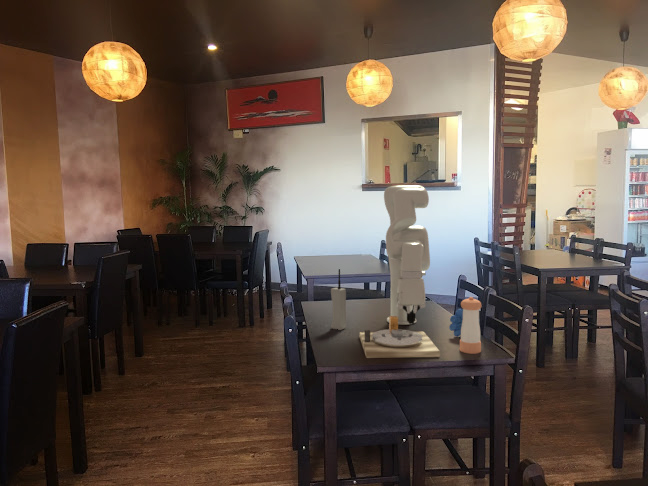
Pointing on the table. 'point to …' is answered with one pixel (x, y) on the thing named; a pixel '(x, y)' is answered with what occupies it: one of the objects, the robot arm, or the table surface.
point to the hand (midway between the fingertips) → (411, 322)
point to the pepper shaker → (470, 326)
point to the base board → (398, 348)
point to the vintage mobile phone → (339, 307)
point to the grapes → (457, 322)
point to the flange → (396, 335)
